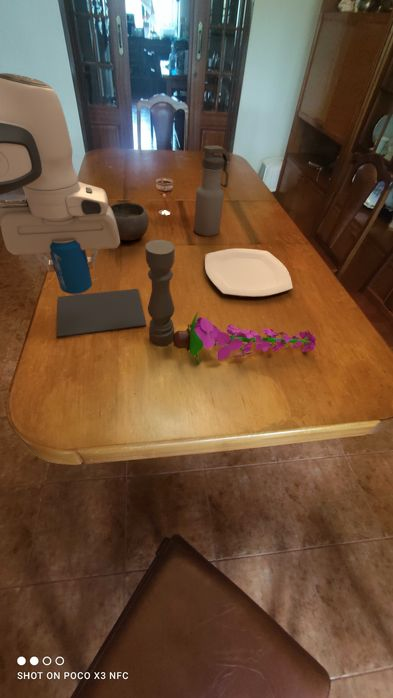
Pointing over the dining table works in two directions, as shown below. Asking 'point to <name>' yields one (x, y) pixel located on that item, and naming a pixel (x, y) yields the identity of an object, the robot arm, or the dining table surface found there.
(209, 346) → the potted plant
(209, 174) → the water bottle
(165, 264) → the candle holder
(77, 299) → the mat
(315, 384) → the dining table surface
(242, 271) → the plate
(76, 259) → the beverage can
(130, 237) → the bowl
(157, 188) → the wineglass
